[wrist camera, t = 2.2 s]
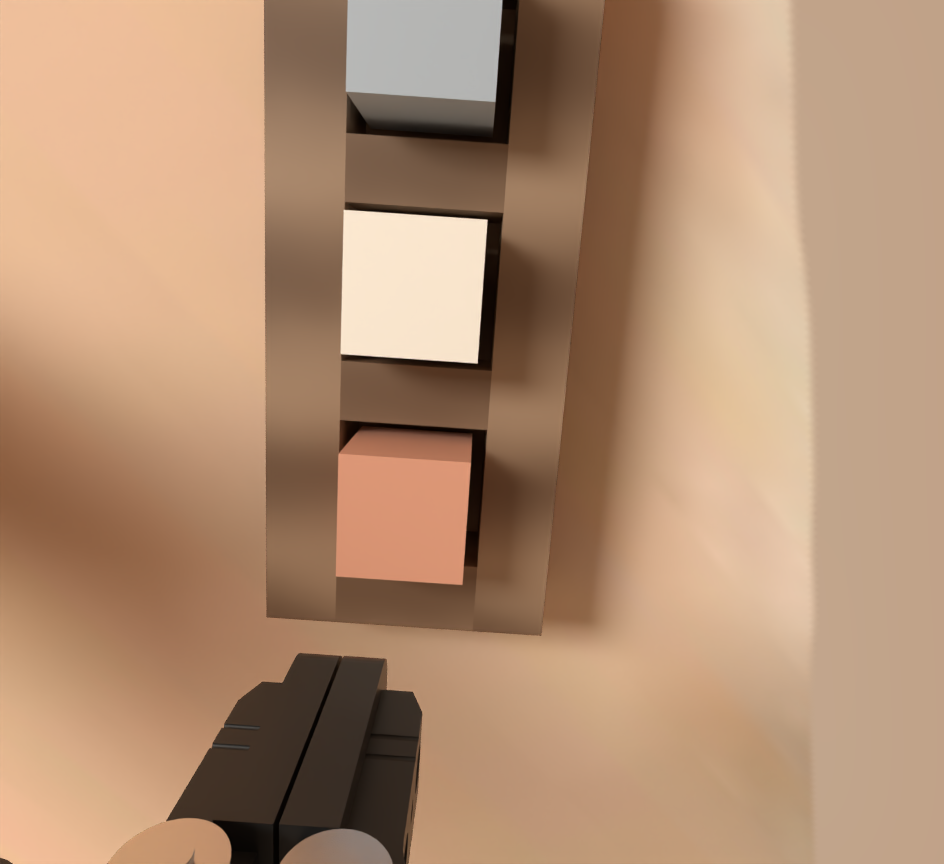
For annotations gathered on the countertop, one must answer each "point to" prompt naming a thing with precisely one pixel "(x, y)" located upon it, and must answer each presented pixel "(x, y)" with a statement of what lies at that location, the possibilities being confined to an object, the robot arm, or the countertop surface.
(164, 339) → the countertop surface
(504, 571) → the key panel
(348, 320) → the cream cube
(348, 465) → the pink cube
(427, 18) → the slate key
